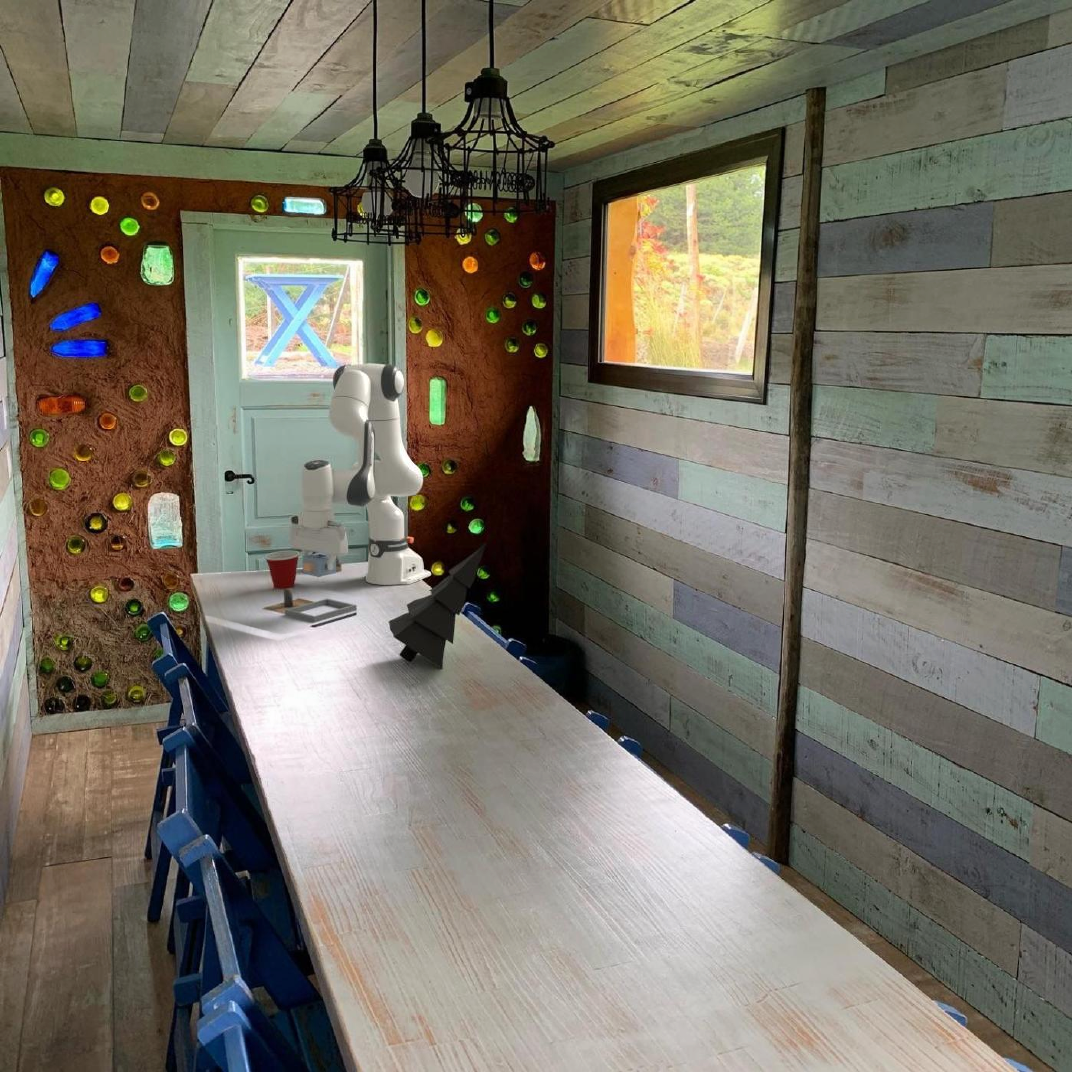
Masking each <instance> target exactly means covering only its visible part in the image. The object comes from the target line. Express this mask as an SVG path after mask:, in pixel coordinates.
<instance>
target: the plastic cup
mask: <svg viewBox="0 0 1072 1072" xmlns="http://www.w3.org/2000/svg"><path fill="white" fill-rule="evenodd" d="M300 554H301V553H300V551H297V550H280V551H274V552H271V553H267V554H265V555H264V559H265V561H266V563H267V565H268V569H269V572H270V576H271V581H272V585H273V589H278V590H284V589H292V588H294V587H295V584H296V583H295V582H296V577H297V569H298V563H299V562H298V560H299V556H300Z"/></svg>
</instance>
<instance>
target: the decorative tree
mask: <svg viewBox="0 0 1072 1072" xmlns="http://www.w3.org/2000/svg"><path fill="white" fill-rule="evenodd" d="M486 546H487V542H485V543H483V545H481V546H480V547H478V549H477V550H475V552H473V553H472V554H471V555H469V556H468V557H467V558H465V559H463V560H462V561H460V562H459V563H458V564H456V565H455V566H453V567H452V568H451V569H449V570H448V572H449V575H448V576H446V577H445V578H444V579H443V580H441V581H440V582H439V583H438V584H437V585H436V586H434V587H431V589H429V592H430V594H429V595H427V596H425V597H420V598H417V599H413V600H412V601H411V602H409V603H407V604H406V607H407V610H408V612H406V613H403V614H402V615H400V616H397V617H395V618H393V619H390V620H389V621H388V624H389V630H390V632H391V633H392V635H393V638H394V639H396V640H397V641H399V642H400V643H402V644H403V645H405V646H403V648H402V649H401V651H400V652H399V656H400V657H401V658H402V659H404V661H407V662H409V663H413V661H414V660H415V658H416V657H417V655H420V656H421V657H422V658H424V659H425V660H427V661H429V662H431V663H432V664H433V665H435V666H436V667H438V668H440V669H442V670H443V666H444V665H443V664H444V656H445V655H444V654H445V648H446V644H447V642H449V643H450V644H452V645H453V644H454V638H455V629H456V628H455V626H456V615H457V616H460V614H461V612H462V610H463V607H464V604H465V600H466V597H467V589H471V587H472V586H473V583H474V581H475V579H476V575H477V572H478V567H479V565H480V562H481V560H482V557H483V555H484V551H485V549H486Z"/></svg>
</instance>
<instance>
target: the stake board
mask: <svg viewBox="0 0 1072 1072" xmlns="http://www.w3.org/2000/svg"><path fill="white" fill-rule="evenodd" d="M293 595H294V594H293V589H292V588H287V589H283V599H284V600H283V602H281V603H280V602H279V603H277V604H273V605H269V606H265V607H262V609H264V610H268V611H270V612H271V611H272V612H275V613H280V614H284V615H285V610H287V609H291V608H294V607H298V606H302V605H305V604H309V603H313V602H314V600H313V601H312V600H308V599H305V598H304V599H303V598H296V599H295V598H293Z"/></svg>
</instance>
